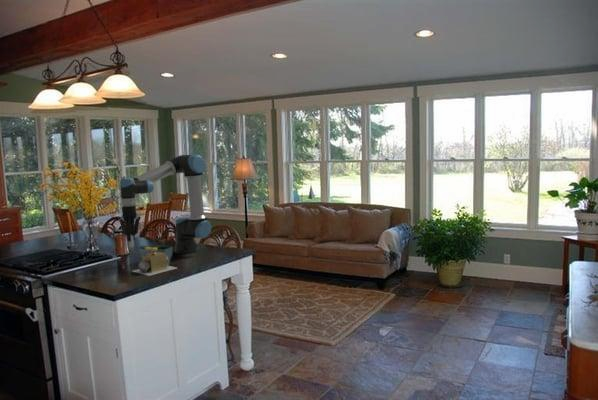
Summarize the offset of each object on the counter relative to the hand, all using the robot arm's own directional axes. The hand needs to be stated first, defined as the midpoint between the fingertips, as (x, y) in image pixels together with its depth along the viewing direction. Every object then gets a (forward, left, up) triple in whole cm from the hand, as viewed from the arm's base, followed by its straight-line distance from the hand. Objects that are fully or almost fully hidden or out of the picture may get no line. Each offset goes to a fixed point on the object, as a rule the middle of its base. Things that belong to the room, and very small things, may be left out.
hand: (131, 246), depth 272 cm
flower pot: (-4, +23, -15) cm, 27 cm away
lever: (+5, +8, -3) cm, 9 cm away
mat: (+9, +8, -14) cm, 19 cm away
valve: (+9, +8, -14) cm, 18 cm away
